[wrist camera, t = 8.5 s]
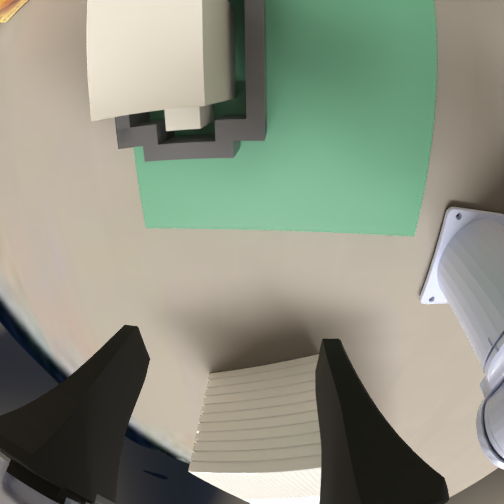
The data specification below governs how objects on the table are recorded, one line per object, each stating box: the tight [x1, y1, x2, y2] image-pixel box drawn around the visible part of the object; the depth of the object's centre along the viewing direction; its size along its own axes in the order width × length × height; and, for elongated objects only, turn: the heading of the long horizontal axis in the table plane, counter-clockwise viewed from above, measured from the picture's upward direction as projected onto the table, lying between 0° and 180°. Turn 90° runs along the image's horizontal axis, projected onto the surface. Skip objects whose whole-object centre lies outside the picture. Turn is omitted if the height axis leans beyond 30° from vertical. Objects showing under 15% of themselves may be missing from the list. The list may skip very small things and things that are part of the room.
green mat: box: [134, 0, 437, 236], centre depth 13 cm, size 17×20×1 cm
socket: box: [115, 0, 267, 162], centre depth 12 cm, size 7×9×2 cm
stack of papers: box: [189, 354, 321, 504], centre depth 29 cm, size 32×11×11 cm, turn 22°
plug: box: [87, 0, 237, 131], centre depth 10 cm, size 4×8×7 cm, turn 1°
